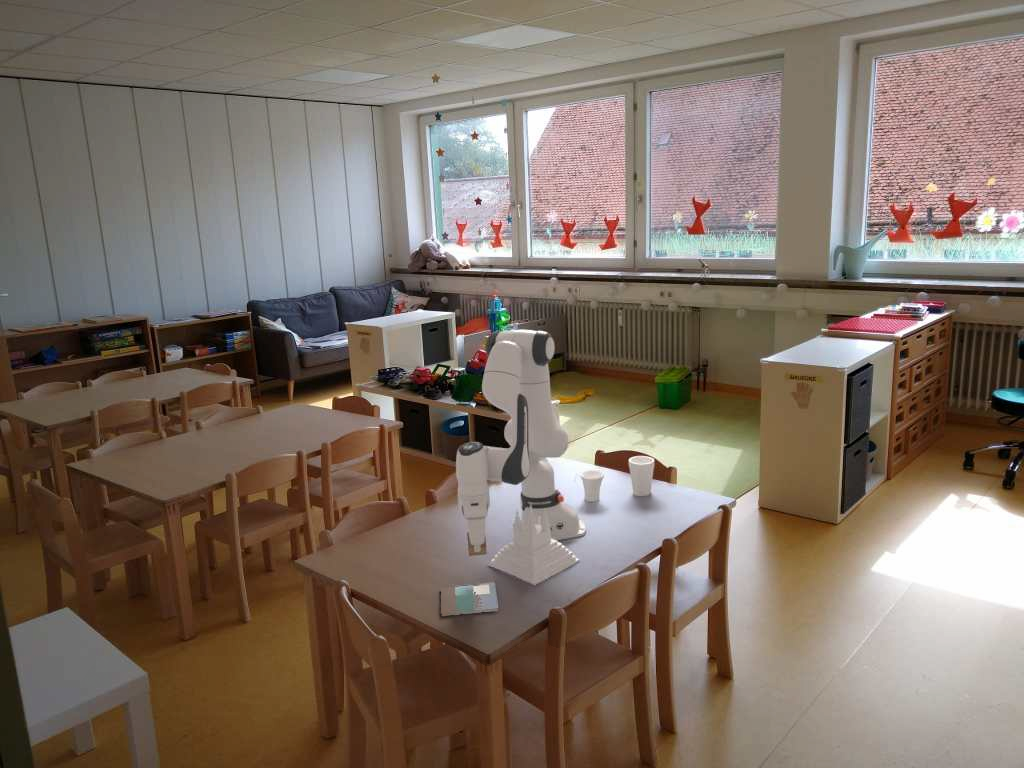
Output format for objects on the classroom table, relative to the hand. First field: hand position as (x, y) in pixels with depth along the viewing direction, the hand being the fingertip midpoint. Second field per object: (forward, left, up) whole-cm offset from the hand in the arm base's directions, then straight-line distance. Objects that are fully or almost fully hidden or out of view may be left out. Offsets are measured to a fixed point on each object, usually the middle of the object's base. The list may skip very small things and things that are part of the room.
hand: (476, 546), depth 219 cm
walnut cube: (0, 0, -2) cm, 2 cm away
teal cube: (+4, +8, -14) cm, 17 cm away
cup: (-46, -63, -15) cm, 79 cm away
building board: (+3, +3, -15) cm, 16 cm away
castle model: (-18, -16, -15) cm, 28 cm away
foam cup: (-65, -65, -15) cm, 93 cm away
